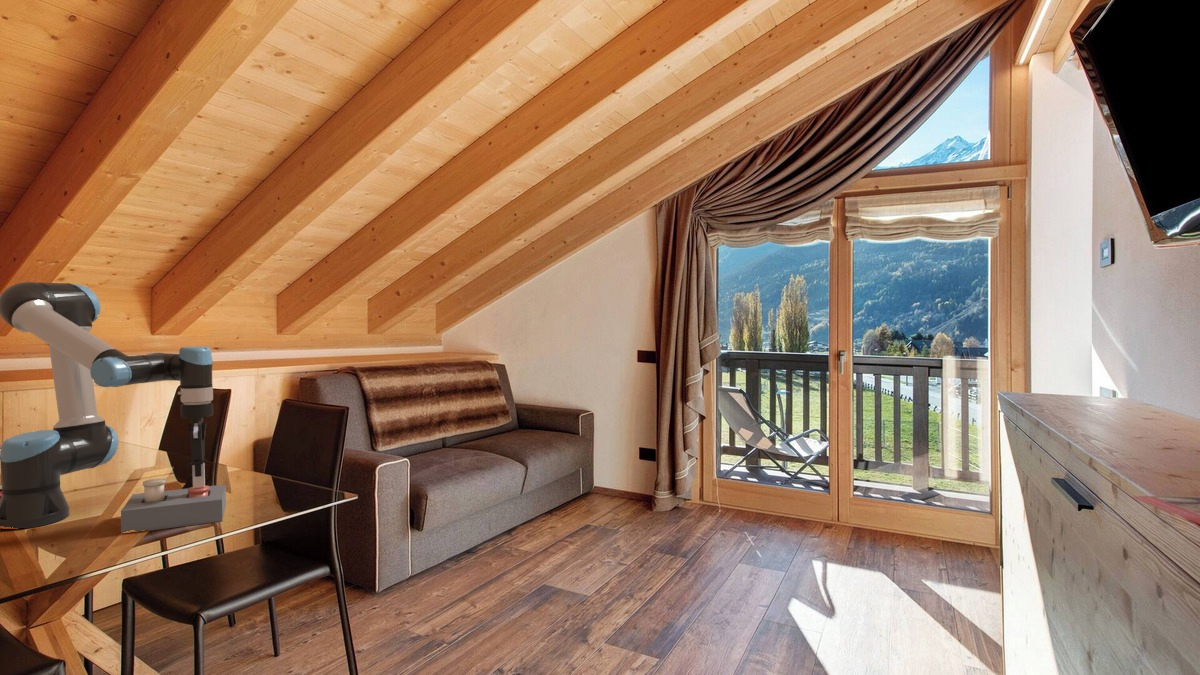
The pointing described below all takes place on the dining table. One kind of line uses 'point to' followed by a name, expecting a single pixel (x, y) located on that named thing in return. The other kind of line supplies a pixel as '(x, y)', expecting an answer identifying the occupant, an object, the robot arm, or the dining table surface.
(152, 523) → the grey plunger base
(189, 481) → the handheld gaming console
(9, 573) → the dining table surface
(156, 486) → the ivory plunger
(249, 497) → the dining table surface
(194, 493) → the red plunger
